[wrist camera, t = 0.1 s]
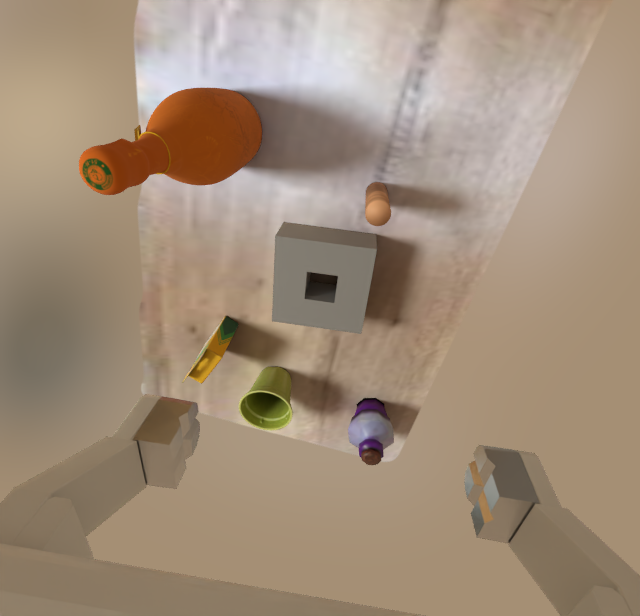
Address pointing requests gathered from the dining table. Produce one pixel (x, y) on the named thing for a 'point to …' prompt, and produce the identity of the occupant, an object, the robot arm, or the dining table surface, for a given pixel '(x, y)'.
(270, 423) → the plant pot
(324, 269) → the hole block
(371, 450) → the potion bottle
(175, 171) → the wine bottle
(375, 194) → the peg
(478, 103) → the dining table surface
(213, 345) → the crayon box
